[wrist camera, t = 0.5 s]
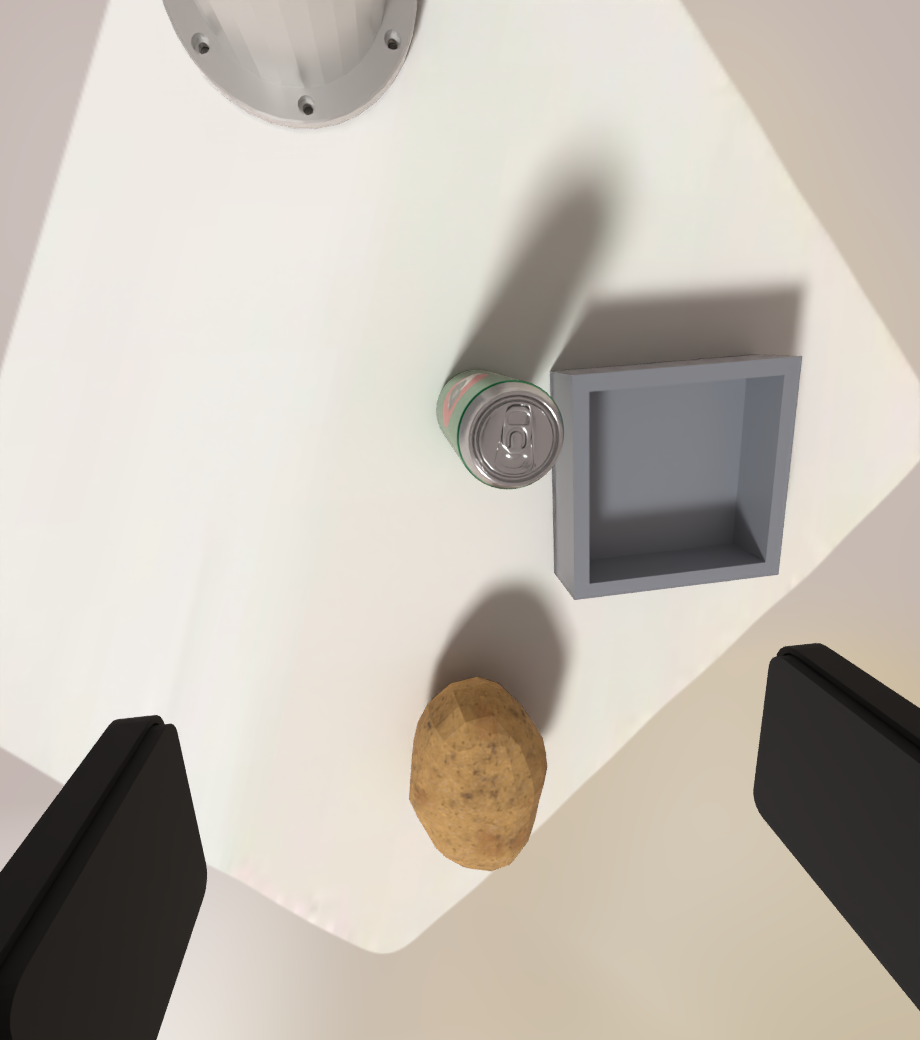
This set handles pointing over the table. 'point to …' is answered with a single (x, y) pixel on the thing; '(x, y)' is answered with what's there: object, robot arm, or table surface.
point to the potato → (477, 774)
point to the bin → (672, 472)
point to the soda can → (500, 427)
